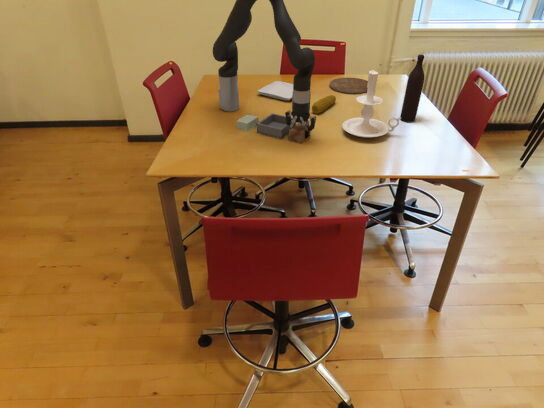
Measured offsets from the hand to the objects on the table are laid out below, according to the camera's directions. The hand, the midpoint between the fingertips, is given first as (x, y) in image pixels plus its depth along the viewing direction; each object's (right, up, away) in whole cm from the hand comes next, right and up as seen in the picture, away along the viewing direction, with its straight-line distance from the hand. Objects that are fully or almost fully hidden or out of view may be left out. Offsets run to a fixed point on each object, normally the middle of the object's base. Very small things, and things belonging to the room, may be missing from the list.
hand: (299, 136), depth 168 cm
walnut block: (0, -1, +1) cm, 1 cm away
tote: (-10, +4, +7) cm, 13 cm away
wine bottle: (+53, +11, +16) cm, 57 cm away
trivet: (+34, +38, +55) cm, 75 cm away
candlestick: (+32, +2, +4) cm, 32 cm away
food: (+15, +19, +29) cm, 37 cm away
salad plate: (-6, +32, +46) cm, 56 cm away
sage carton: (-24, +6, +11) cm, 27 cm away
